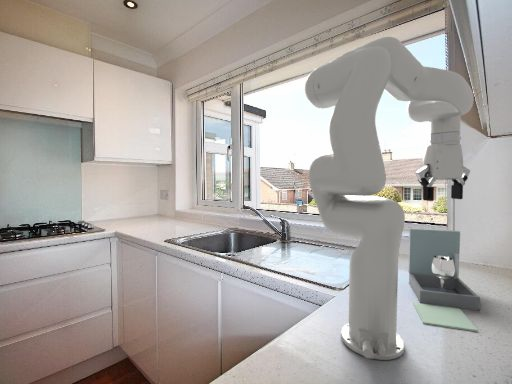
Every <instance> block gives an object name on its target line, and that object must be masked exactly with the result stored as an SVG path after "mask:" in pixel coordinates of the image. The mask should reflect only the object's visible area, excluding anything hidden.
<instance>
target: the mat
mask: <svg viewBox="0 0 512 384" xmlns="http://www.w3.org/2000/svg"><path fill="white" fill-rule="evenodd" d="M412 306H414V308H415V310H416V313H417V314H418V316H419V318H420V321H421V322H422V324H424V325H431V326H436V327H442V328H449V329H451V328H452V329H456V330H463V331H468V332H477V333H478V328H476V326H475V325H474V324H473V323H472V322H471V321H470V319H469V318H468V317H467V316H466V315H465V313H464V312H463V311H462V310H461V308H458V307H450V306H442V305H435V304H427V303H420V302H413V303H412Z"/></svg>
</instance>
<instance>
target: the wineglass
mask: <svg viewBox="0 0 512 384" xmlns="http://www.w3.org/2000/svg"><path fill="white" fill-rule="evenodd" d="M431 271H432V273H433V275H434V276H436V277H437V278H440V279H441V281H440V284H441V288H440V292H444V288H443V285H444V279H450V278H452V277H453V276H454V273H455V267H454V262H453V259H452V258H450V257H447V256H440V255H436V256H434V257H433V260H432V264H431Z"/></svg>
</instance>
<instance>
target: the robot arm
mask: <svg viewBox="0 0 512 384" xmlns="http://www.w3.org/2000/svg"><path fill="white" fill-rule="evenodd" d="M304 92H305V96H306V98H307V100H308V102H309V103H310V104H311V105H312V106H313V107H315V108H317V109H329V108H332V107H334V108H333V111H332V113H331V116H330V120H329V123H328V137H329V141H330V145H331V150H332V151H326V152H323V153H320V154H318V155H317V156H315V157H314V159H313V160H312V161H311V163H310V166H309V170H308V182H309V185H310V190H311V192H312V195H313V198H314V201H315V204H316V207H317V211H318V214H319V217H320V219H321V222H322V224H323V226H324V227H325V229H326V230H327V231H328V232H330V233H331V234H335V235H338V236H343V237H346V238H347V237H348V238H352V239H353V238H354V239H356V240H359V243H358V244H357V245H358V246H356V247H355V249H354V250H353V251H352V253H351V255H350V258H349V273H348V274H349V279H348V280H349V283H348V285H349V286H348V323H347V324H345V325H344V326H343V327H342V328H341V333H340V336H341V341H342V342H343V344H345V345H346V346H347V348H348V349H350V350H351V351H353V352H354V353H357V354H359V355H360V356H362V357H364V358H366V359H371V360H372V359H373V360H382V361H389V360H395V359H397V358H399V357H401V356H402V355H403V354H404V352H405V347H406V346H405V341H404V339H403V338H402V337H401V336H400V335H399V334H398V333H397V326H398V325H397V322H398V321H397V320H398V319H397V318H398V317H397V316H398V285H399V283H398V280H399V277H398V276H399V275H398V274H399V256H400V255H399V254H400V246H401V242H402V241H401V240H402V235H403V232H404V227H405V223H406V222H405V221H406V220H405V219H406V217H405V216H406V215H405V210H404V209H403V206H401V204H400V203H398V202H397V201H396V200H394V199H391V198H387V197H383V196H373V195H377V194H379V193H381V192H382V190H383V189H384V188H385V186H386V182H387V175H386V169H385V162H384V159H383V155H382V154H383V153H382V149H381V145H380V141H379V136H378V132H377V126H376V116H377V110H378V107H379V105H380V104H379V103H380V101H381V98H382V97H383V94H384V92H386V93H387V94H388V95H389V96H390V97H392V98H393V99H394V100H397V101H401V102H408V103H407V106H406V112H407V115H408V117H409V118H410V119H411V120H412V121H414V122H418V123H424V122H425V123H426V122H428V123H427V124H428V126H427V127H428V129H427V130H428V131H427V133H428V134H427V142H428V143H427V145H426V146H424V147H425V148H424V150H423V156H422V164H421V168H420V169H418V170H417V171H415V173H414V174H415V177H416V178H417V181H418V183H419V184H420V187H422V200H423V201H426V202H427V201H428V202H434V200H435V199H434V198H435V187H434V186H433V185H434V184H435V182H436V181H448V180H450V181H451V185H450V186H451V187H450V190H451V191H450V193H451V194H450V195H451V196H450V198H451V199H453V200H455V199H456V200H463V196H464V195H463V193H464V190H463V189H464V186H465V185H466V182H467V180H468V178H469V175H470V172H471V170H470V169H469V168H467V167H466V166H464V155H463V154H464V153H463V147H462V145H461V139H462V137H461V116H464V115H465V114H466V115H467V113H469V112H470V111H471V109H472V108H473V105H474V98H475V97H474V92H473V90H472V88H471V86H470V84H469V83H468V82H467V80H466V79H465V78H464V77H463V76H462V75H461V74H459V73H457V72H455V71H453V70H448V69H442V68H438V67H437V68H436V67H431V66H424V65H422V63H421V62H420V61H419V60H418V59H417V58H416V56H415V55H413V53H412V52H411V51H410V50H409V49H408V48H407V46H405V45H404V44H403V43H402V41H400V40H399V39H397V38H396V37H393V36H383V37H379V38H377V39H374V40H372V41H370V42H367V43H365V44H362V45H361V46H358V47H356V48H354V49H351V50H349V51H347V52H345V53H343V54H342V55H340V56H338V57H336V58H334V59H333V60H331V61H329V62H327V63H325V64H322V65H319V66H318V67H316V68H314V69H313V70H312V71H311V72H309V75H308V76H307V77H306V80H305V85H304Z"/></svg>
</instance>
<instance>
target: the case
mask: <svg viewBox="0 0 512 384" xmlns="http://www.w3.org/2000/svg"><path fill="white" fill-rule="evenodd" d="M460 242H461V231H460V230H446V229H430V228H429V229H427V228H425V229H424V228H411V227H410V228H409V241H408V244H409V245H408V274H409V275H408V284H409V286H410V288H411V289H412V291H413V293H414V295H415V297H416V298H417V300H418V301H419V302H418V303H421V304H429V305H436V306H444V307H452V308H459V309H467V310H474V311H475V310H476V311H480V305H481V304H480V302H481V301H480V299H481V298H480V296H479V295H478V294H477V293H475V292H474V290H472V289H471V287H470V286H468V285H467V284H466V283H464V281H463V280H461V279H460V278H459V276H460V275H459V274H460V250H461V249H460V248H461V247H460V246H461V245H460V244H461V243H460ZM436 255H440V256H447V257H450V258H452V259H453V262H454V267H455V273H454V276H453V277H452V278H450V279H444V285H443V289H450V290H451V289H452V290H455V291H457V292H458V293H452V292H444V291H443V292H441V291H435V290H429V289H423V288H422V287H430V288H431V287H432V288H440V289H441V284H440V281H441V279H440V278H437V277H436V276H434V275H433V273H432V271H431V264H432V260H433V257H434V256H436Z"/></svg>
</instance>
